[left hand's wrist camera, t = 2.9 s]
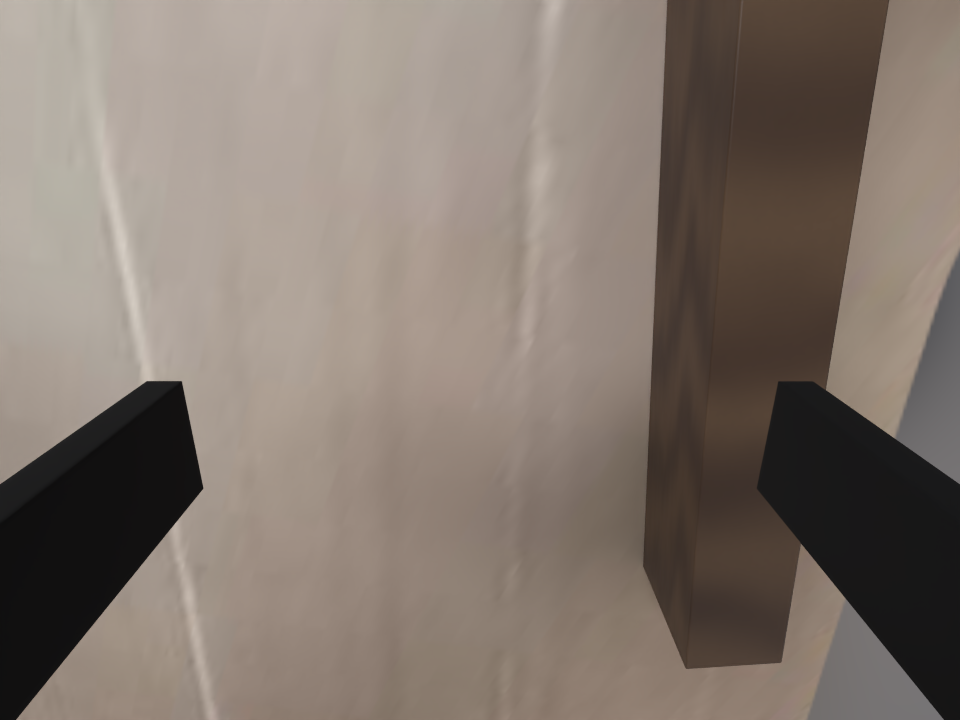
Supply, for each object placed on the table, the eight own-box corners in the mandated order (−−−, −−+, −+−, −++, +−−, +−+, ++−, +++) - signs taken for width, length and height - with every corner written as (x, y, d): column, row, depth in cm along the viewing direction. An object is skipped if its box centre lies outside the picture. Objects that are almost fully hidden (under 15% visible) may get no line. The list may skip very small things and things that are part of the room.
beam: (720, 561, 36) (782, 663, 29) (642, 566, 37) (685, 669, 29) (861, -813, 18) (1130, -1473, 10) (700, -799, 18) (859, -1448, 10)
